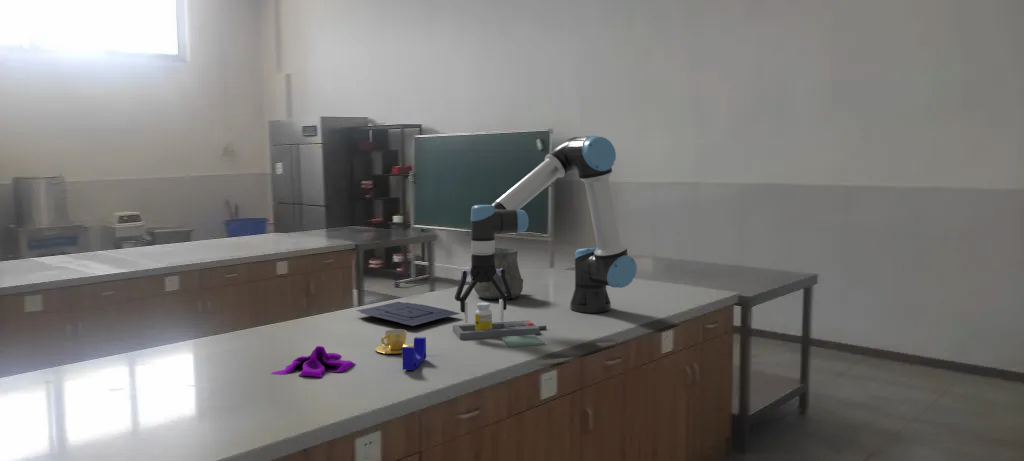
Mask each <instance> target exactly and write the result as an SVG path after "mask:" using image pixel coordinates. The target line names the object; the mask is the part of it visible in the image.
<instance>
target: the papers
mask: <svg viewBox="0 0 1024 461" xmlns="http://www.w3.org/2000/svg"><path fill="white" fill-rule="evenodd" d="M356 312H359V314H363V315H365V316H369V317H376V318H379V319H384V320H388V321H392V322H396V323H398V324H404V325H407V326H408V325H409V326H410V327H411V326H412V327H414V326H417V325H421V324H424V323H429V322H432V321H436V320H439V319H443V318H448V317H451V316H457V315H462V312H461V313H460V312H458V311H457V312H456V311H453V310H449V309H446V308H441V307H436V306H432V305H431V306H430V305H426V304H421V303H420V304H419V303H412V302H408V301H407V302H402V301H395V302H389V303H386V304H382V305H378V306H377V305H376V306H371V307H365V308H361V309H356Z"/></svg>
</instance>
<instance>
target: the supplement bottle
mask: <svg viewBox="0 0 1024 461" xmlns="http://www.w3.org/2000/svg"><path fill="white" fill-rule="evenodd" d="M490 305H491V304H490V303H489V302H478V303H477V304H476V308H477V310H475V312H474V319H475V321H474V322H475V323H474V324H475V329H476V331H477V330H492V323H493V312H492V310H491V309H490V307H491V306H490Z"/></svg>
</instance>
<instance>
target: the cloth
mask: <svg viewBox="0 0 1024 461" xmlns="http://www.w3.org/2000/svg"><path fill="white" fill-rule="evenodd" d="M341 358H342V355H341V354H339V353H337V352H327V351H326V349H325V347H324V346H322V345H317V346H316V347H315V348H314V350H313V351H312V352H311V354H309V355H307V356H304V355H301V356H298V357H296V358H295V359H293V360H292V362H291V363H290V364H289V365H285V369H281V370H277V371H272V372H271V373H270V375H278V376H279V375H288V374H290V373H292V372H293V373H294V372H295V371H297V372H300V373H299V374H298V376H299V377H316V378H323V375H322V374H324V373H325V372H329V373H344V372H345V371H346V370H347V369H349V368H351V367H353V366H355V365H356V363H354V362H353V361H351V360H345V359H344V360H342V359H341Z"/></svg>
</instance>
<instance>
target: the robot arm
mask: <svg viewBox="0 0 1024 461" xmlns="http://www.w3.org/2000/svg"><path fill="white" fill-rule="evenodd" d="M616 155H617V152H616V148H615V147H614V145H613V143H612V142H611V140H609V139H608V138H606V137H603V136H599V135H587V136H586V135H585V136H574V137H570V138H568V139H566V140H565V141H563V142H562V143H560V144H559V145H557V146H556V147H555V148H554V149H552V150H551V151H550V152H548V154H546V155H545V157H544V161H542V162H541V163H540V164H538V166H536V167H535V168H534V169H533V170H532V171H530V172H529V173H528V174H527V175H526V176H524V177H523V178H522V179H521V180H520V181H518V182H517V183H516V184H514V186H512V187H511V188H509V190H507V191H506V192H505V193H504V194H502V195H501V196H500V197H499V198H498V199H496V200H495V201H494V202H492V204H475V205H473V206H472V207H471V208H470V209H471V211H470V231H471V232H470V234H471V235H470V238H471V240H470V241H471V243H470V244H471V246H470V249H471V253H472V254H471V255H470V257H471V258H470V259H471V262H470V263H471V265H470V266H471V268H470V269H469V270H465V269H462V270H461V277H460V280H459V284H458V286H457V288H456V291H455V295H454V300H456V302H460V303H459V304H460V305H459V306H460V308H459V310H460V312H461V313H463V322H464V324H469V323H468V322H469V321H468V317H469V316H468V312H469V311H468V308H469V307H468V302H467V299H468V298H469V296H470V295H471V293H472V291H473V290H474V287H475V285H476V284H477V283H478V282H479V283H482V282H486V283H487V282H491V284H492V285H493V286H494V288H495V289H496V291H497V292H498V294H499V295H500V297H501V298H502V299H498V306H499V307H498V310H499V312H498V313H499V314H498V318H499V320H500V322H505V321H504V320H505V319H504V316H505V315H504V311H506V310H507V300H510V299H509V298H512V294H511V291H510V289H509V286H508V283H507V280H506V278H505V270H504V269H502V268H500V269H496V268H495V255H494V254H493V253H494V252H495V248H496V246H495V244H496V242H495V241H496V239H495V237H496V235H501V234H518V233H524V232H526V231H527V229H528V227H529V224H530V223H529V221H530V220H529V216H528V213H527V212H526V211H525V210H523V209H521V208H523V207H524V206H525V205H526V204H528V203H529V202H531V201H532V200H533V199H534V198H535V197H536V196H537V195H538V194H540V193H541V192H542V191H543V190H545V189H546V188H547V187H548V186H549V185H550V184H552V183H553V182H554V181H555V180H556V179H558V178H563V177H565V175H567V174H568V173H571V172H574V171H577V174H578V178H579V180H580V181H582V182H583V183H584V186H585V191H586V196H587V198H586V199H587V203H588V207H589V211H590V216H591V217H590V218H591V223H592V227H593V228H592V229H593V232H594V237H595V242H596V247H589V248H587V247H586V248H585V247H583V248H577V249H576V250H575V255H574V290H573V294H572V297H571V299H570V303H569V304H570V305H569V308H570V309H569V310H571V311H574V312H578V313H587V314H588V313H591V314H592V313H595V314H596V313H606V312H609V311H611V309H612V303H611V299H610V297H609V293H608V290H607V286H609V287H611V288H619V289H620V288H622V289H623V288H626V287H628V286H629V285H631V283H632V282H634V279H635V278H636V274H637V271H638V269H637V268H638V267H637V263H636V260H635V259H634V258H633V257H631V255H629V254H628V249H627V246H626V245H625V244H624V243H622V240H621V239H622V238H621V234H620V230H619V229H620V228H619V224H618V220H617V214H616V207H615V203H614V196H613V191H612V186H611V182H610V176H611V175H612V173H613V169H612V167H613V166H614V165H615V161H616V160H617V156H616ZM496 273H498V275H499V276H500V279H501V281H502V284H503V287H504V289H505V292H506V295H504V293H503V292H502V290H501V289H500V287H499V286H498V284H497V283H496V281H495V280H494V278H493V277H494V275H495V274H496ZM470 274H471V275H472V276H473V278H472V280H471V279H470V282H469V284H468V286H467V288H466V289H465V290H464V287H465V285H466V281H467V278H469V277H470ZM463 291H464V292H463ZM462 293H463V294H462ZM512 299H513V298H512Z"/></svg>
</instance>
